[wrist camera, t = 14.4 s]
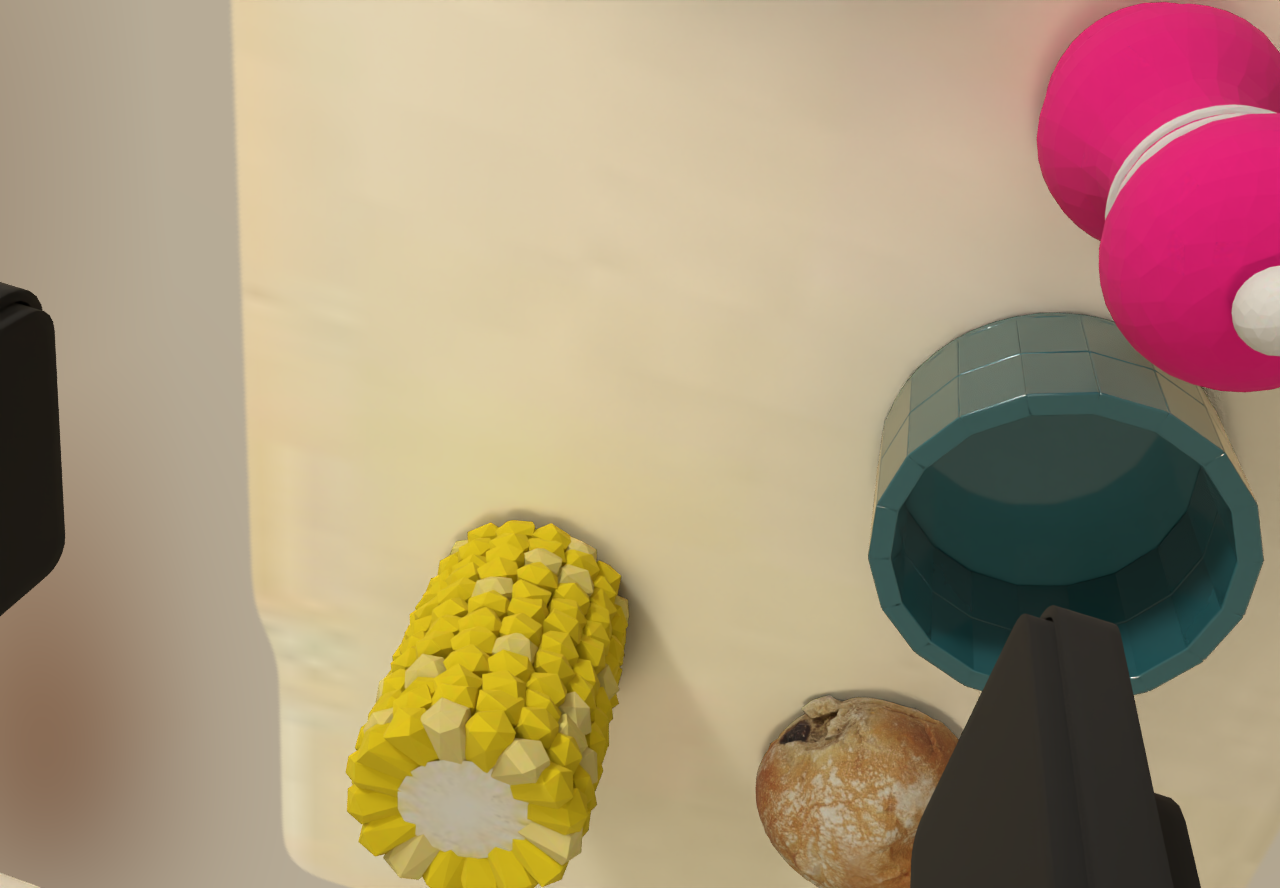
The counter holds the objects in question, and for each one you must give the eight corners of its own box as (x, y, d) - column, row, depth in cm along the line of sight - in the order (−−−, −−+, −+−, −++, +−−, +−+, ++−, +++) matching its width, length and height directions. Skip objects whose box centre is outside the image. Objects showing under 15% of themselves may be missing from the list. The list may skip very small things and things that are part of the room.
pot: (938, 271, 44) (936, 345, 38) (1284, 369, 43) (1339, 462, 37) (839, 541, 50) (824, 642, 44) (1137, 633, 49) (1164, 749, 43)
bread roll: (902, 628, 56) (835, 682, 49) (1052, 810, 53) (1002, 894, 47) (766, 734, 61) (688, 797, 54) (896, 906, 58) (832, 994, 51)
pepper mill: (985, 88, 40) (1014, 298, 23) (1180, -66, 37) (1384, 47, 20) (1108, 246, 42) (1221, 553, 25) (1307, 112, 39) (1596, 360, 21)
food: (470, 473, 55) (676, 546, 55) (405, 686, 58) (598, 754, 58) (361, 612, 40) (640, 711, 40) (283, 883, 44) (540, 975, 44)
